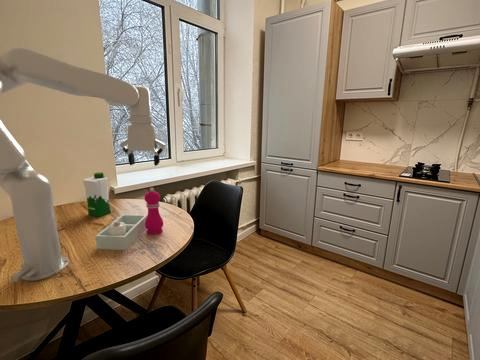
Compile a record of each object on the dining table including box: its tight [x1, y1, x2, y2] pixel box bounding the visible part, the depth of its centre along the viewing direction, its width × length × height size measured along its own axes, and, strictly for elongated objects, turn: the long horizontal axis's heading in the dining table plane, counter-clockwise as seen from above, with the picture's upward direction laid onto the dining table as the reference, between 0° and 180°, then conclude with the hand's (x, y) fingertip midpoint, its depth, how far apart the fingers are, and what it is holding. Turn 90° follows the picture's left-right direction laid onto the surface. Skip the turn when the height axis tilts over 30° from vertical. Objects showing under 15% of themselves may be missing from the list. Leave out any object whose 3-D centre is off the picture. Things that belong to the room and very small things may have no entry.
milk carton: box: [82, 172, 112, 218], centre depth 125 cm, size 9×9×20 cm
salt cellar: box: [108, 221, 126, 236], centre depth 97 cm, size 6×6×8 cm
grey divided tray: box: [95, 213, 148, 251], centre depth 102 cm, size 20×11×6 cm, turn 178°
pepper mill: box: [143, 187, 164, 236], centre depth 105 cm, size 7×7×20 cm
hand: (144, 164), depth 103 cm, fingers open, 9 cm apart
